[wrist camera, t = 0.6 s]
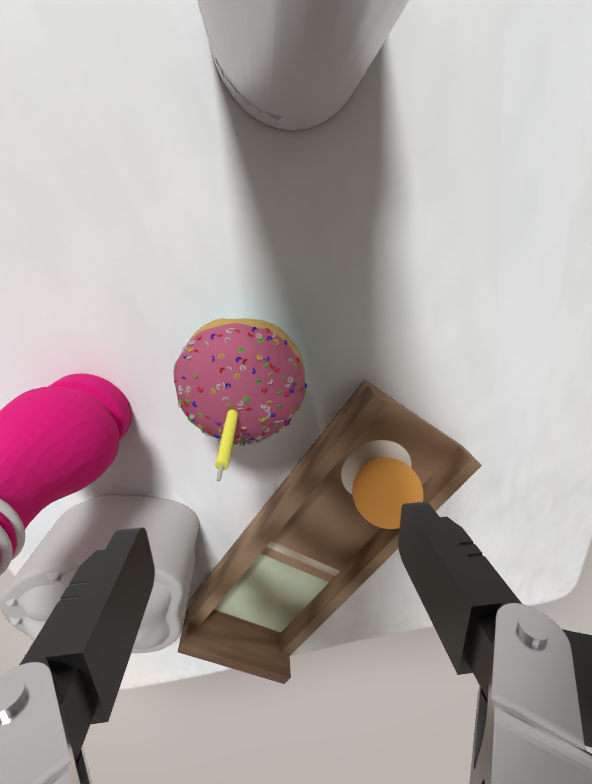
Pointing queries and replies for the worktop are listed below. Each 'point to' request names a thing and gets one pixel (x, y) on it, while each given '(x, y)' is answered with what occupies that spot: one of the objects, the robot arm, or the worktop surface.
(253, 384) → the cupcake
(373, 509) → the ball
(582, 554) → the worktop surface
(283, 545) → the wooden tray
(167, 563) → the lumpy-topped squat cylinder
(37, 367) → the worktop surface
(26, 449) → the pepper mill
